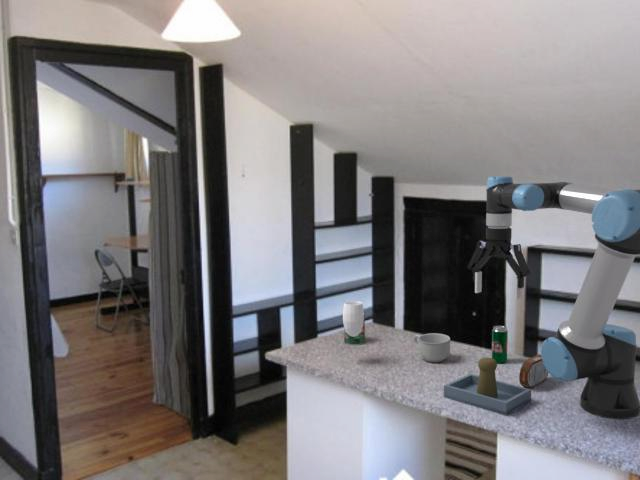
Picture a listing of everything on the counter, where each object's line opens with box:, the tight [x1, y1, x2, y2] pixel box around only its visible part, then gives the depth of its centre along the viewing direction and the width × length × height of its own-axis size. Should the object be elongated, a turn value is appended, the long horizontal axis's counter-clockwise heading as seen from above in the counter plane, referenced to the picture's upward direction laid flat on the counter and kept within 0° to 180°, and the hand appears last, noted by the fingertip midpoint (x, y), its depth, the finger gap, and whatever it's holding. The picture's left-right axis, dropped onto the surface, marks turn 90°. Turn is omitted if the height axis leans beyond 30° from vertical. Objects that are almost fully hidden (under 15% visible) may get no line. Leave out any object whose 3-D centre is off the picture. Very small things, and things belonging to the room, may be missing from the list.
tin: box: [518, 353, 549, 389], centre depth 197 cm, size 15×3×8 cm, turn 134°
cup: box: [342, 300, 365, 337], centre depth 220 cm, size 7×7×21 cm
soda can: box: [491, 325, 509, 364], centre depth 219 cm, size 5×5×12 cm
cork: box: [477, 357, 498, 399], centre depth 185 cm, size 6×6×11 cm
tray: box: [443, 373, 532, 416], centre depth 186 cm, size 20×14×4 cm
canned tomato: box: [343, 313, 366, 346], centre depth 244 cm, size 8×8×11 cm
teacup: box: [412, 332, 451, 363], centre depth 223 cm, size 14×11×8 cm
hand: (497, 295), depth 199 cm, fingers open, 13 cm apart
